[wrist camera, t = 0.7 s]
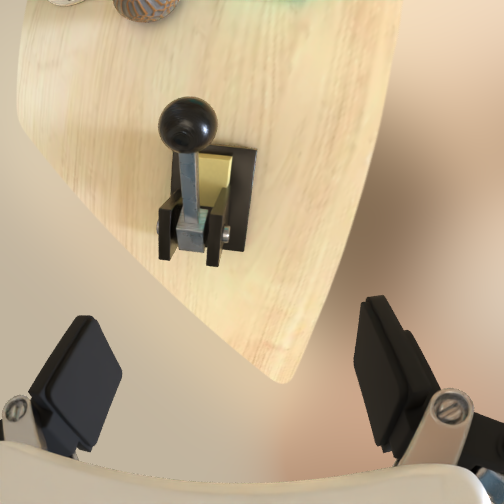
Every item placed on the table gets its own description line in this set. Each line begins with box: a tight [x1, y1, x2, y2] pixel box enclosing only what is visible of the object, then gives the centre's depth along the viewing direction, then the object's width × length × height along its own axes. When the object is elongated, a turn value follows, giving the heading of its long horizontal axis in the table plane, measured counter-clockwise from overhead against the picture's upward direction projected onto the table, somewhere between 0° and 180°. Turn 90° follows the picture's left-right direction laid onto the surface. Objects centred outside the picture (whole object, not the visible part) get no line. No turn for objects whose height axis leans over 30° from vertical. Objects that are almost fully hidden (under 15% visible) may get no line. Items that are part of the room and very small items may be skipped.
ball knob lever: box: [158, 97, 218, 253], centre depth 21 cm, size 13×4×4 cm, turn 174°
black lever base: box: [157, 144, 257, 267], centre depth 29 cm, size 12×9×12 cm
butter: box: [199, 153, 232, 207], centre depth 31 cm, size 5×4×3 cm
